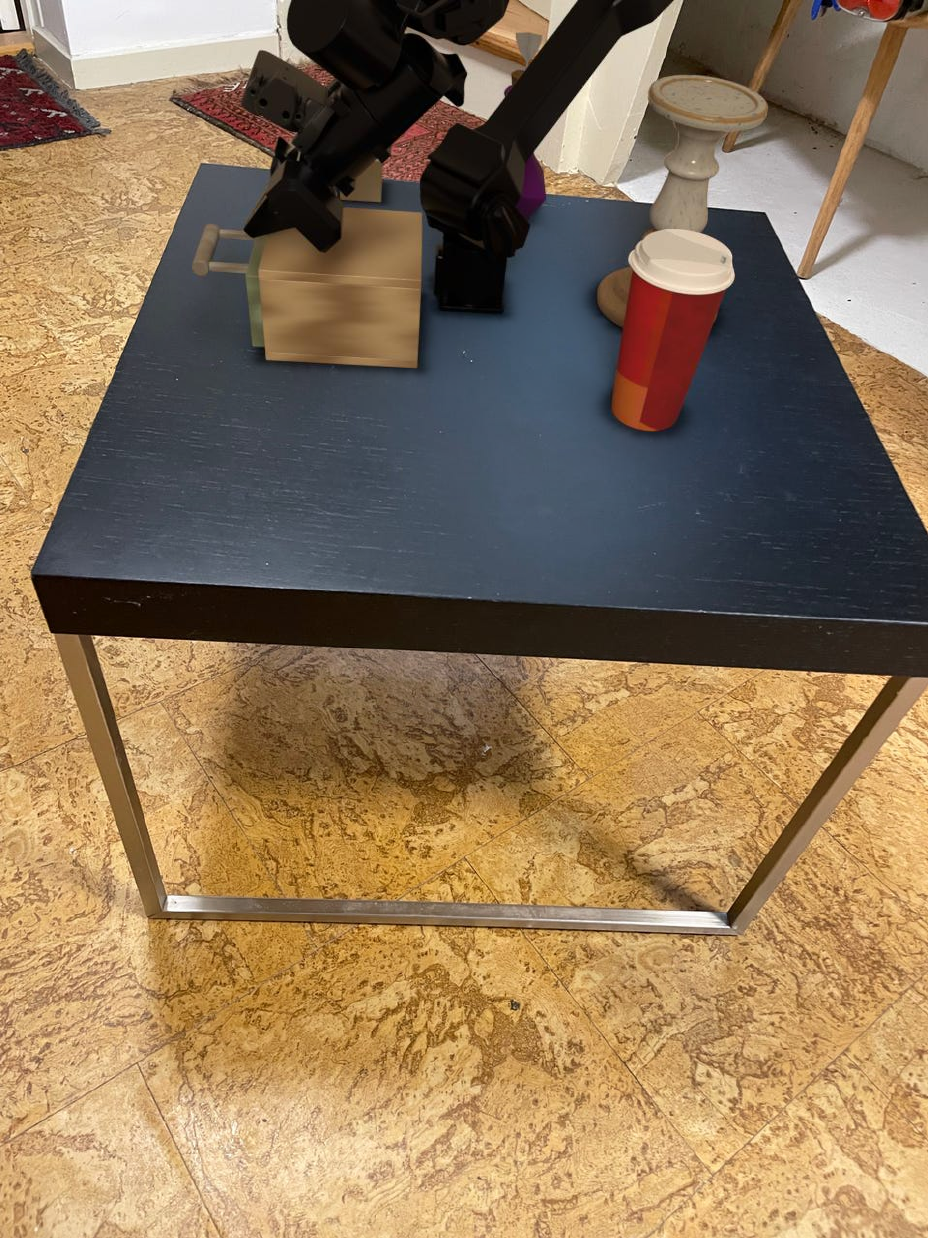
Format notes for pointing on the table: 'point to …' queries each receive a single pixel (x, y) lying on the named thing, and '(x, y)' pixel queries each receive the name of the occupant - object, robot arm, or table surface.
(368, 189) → the block
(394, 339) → the cabinet
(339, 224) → the robot arm
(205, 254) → the drawer
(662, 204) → the candle holder
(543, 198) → the perfume bottle
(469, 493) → the table surface
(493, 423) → the table surface
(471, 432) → the table surface
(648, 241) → the coffee cup
